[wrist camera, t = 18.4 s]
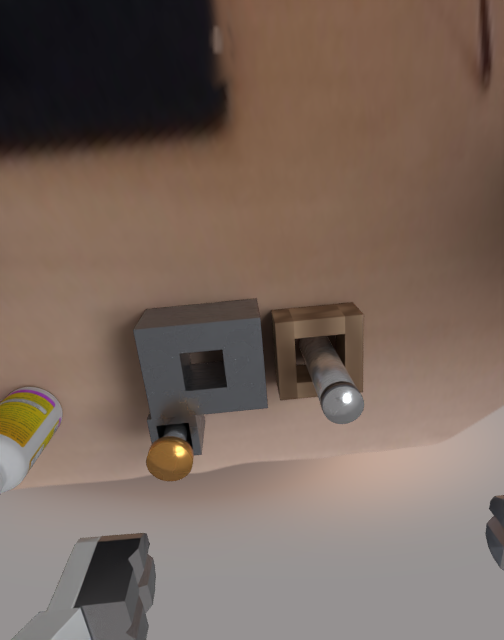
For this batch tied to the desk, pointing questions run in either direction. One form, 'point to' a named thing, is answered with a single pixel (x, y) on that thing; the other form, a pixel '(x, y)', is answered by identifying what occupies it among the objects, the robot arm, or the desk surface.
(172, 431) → the gold knob
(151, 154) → the desk surface
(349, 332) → the square frame block
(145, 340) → the socket block
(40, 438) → the supplement bottle
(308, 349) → the cylindrical peg
